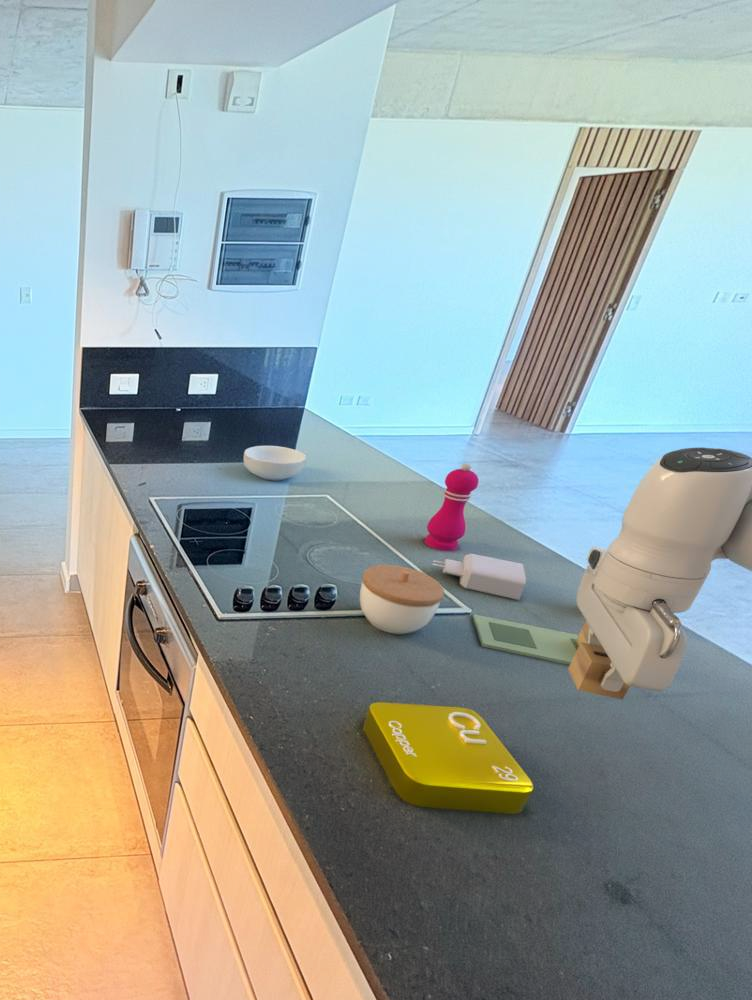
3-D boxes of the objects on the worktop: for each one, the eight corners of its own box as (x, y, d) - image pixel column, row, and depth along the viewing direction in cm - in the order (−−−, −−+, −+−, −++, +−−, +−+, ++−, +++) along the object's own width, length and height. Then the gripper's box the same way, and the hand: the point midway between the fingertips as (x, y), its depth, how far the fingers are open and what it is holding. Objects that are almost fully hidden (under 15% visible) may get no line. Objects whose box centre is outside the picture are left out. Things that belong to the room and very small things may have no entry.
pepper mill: (427, 536, 145) (453, 455, 136) (462, 546, 141) (491, 463, 132) (417, 546, 141) (443, 463, 132) (453, 556, 136) (483, 471, 127)
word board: (622, 648, 106) (624, 643, 106) (644, 683, 98) (647, 677, 97) (472, 618, 114) (474, 613, 114) (481, 648, 106) (483, 642, 106)
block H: (609, 647, 104) (621, 624, 102) (618, 663, 101) (631, 639, 99) (575, 641, 106) (586, 618, 104) (583, 656, 102) (595, 632, 100)
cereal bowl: (297, 469, 186) (301, 446, 183) (306, 489, 172) (311, 465, 169) (239, 465, 190) (242, 442, 187) (242, 484, 175) (246, 460, 172)
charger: (430, 563, 133) (514, 582, 126) (428, 582, 126) (518, 602, 119) (436, 544, 131) (522, 561, 124) (435, 562, 124) (526, 581, 117)
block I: (610, 678, 82) (625, 649, 80) (622, 699, 78) (638, 670, 76) (567, 669, 83) (581, 641, 81) (577, 690, 80) (592, 660, 78)
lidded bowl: (445, 643, 108) (465, 589, 103) (376, 646, 107) (392, 592, 102) (401, 604, 119) (417, 554, 114) (339, 607, 118) (352, 556, 113)
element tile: (357, 722, 90) (365, 697, 88) (465, 729, 89) (476, 704, 87) (401, 807, 77) (412, 780, 75) (529, 817, 76) (544, 790, 73)
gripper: (723, 634, 64) (664, 733, 70) (646, 550, 81) (604, 637, 87) (646, 620, 67) (595, 718, 73) (586, 542, 83) (549, 627, 89)
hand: (599, 673), depth 80 cm, fingers closed on block I, 4 cm apart
